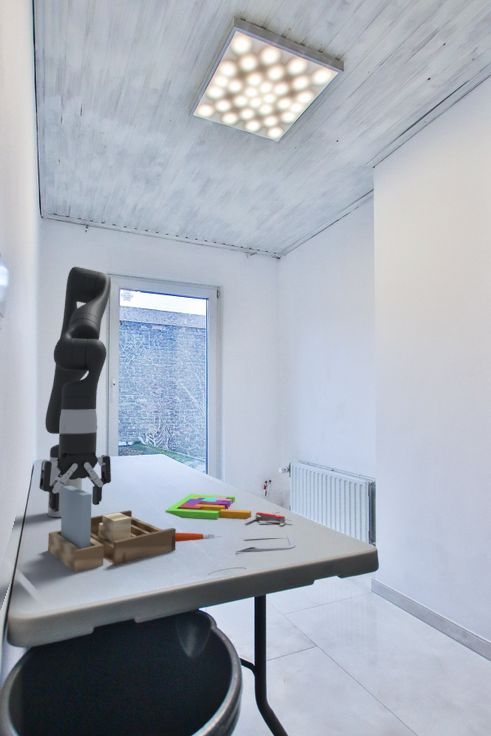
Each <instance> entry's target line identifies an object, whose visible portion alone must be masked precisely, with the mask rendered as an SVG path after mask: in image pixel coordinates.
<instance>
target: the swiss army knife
mask: <svg viewBox="0 0 491 736" xmlns="http://www.w3.org/2000/svg"><path fill="white" fill-rule="evenodd" d="M277 514H280V511H274V512H265V513H264V512H260V511H259V512H256V513H255V515H254V516H251V518H248V519H244V521H245V522H250V521H252V520H255V521H257V522H259V523H271V524H277V525H279V526H284V525H285V524H286V521H288V522H292V521H293V520H292V519H291V518H290V519H289V518H286V516H284V515H277Z"/></svg>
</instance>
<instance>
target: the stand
mask: <svg viewBox="0 0 491 736" xmlns="http://www.w3.org/2000/svg"><path fill="white" fill-rule="evenodd" d="M47 540H48V541H47V542H48V543H47V551H48V553H50V554H52V555H53V556H54V557H55V558H57V559H58V560H59V561H60V562H62V563H63V564H64V565H65V566H67V568H69V569H70V570H72V572H74V573H78V572H82V571H85V570H89V569H93V568H96V567H100V566H104V558H103V556H104V545H103V544H101V543H99V542H98V541H96V540H94V539H92V538H91V537H90V547H86V548H82V549H79V548H78V547H76V546H75V545H73V544H72V543H71V542H69V541H68V540H66V539H65V538H63V537H62V536H61V529H60V530H56V531H55V530H54V531H50V532H48V539H47Z"/></svg>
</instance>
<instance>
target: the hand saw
mask: <svg viewBox="0 0 491 736" xmlns="http://www.w3.org/2000/svg"><path fill="white" fill-rule="evenodd" d="M222 537H223V536H222V535H215V534H214V533H191V532H176V542H185V541H197V540H212V539H215V538H222ZM238 539H239V540H248V539H249V540H251V539H252V540H256V539H259V540H260V539H287V541H288V543H289V545H284V546H283V545H281V546H278V545H277V546H276V545H275V546H251V547H247V548H244V549H240V550H238V551H236V552H237V553H239V552H241V553H242V552H243V553H244V552H245V553H246V552H249V553H251V552H268V551H281V550H283V551H284V550H291V549H293V548H295V547H296V543H295V540H294V538H293V536H292V535H286V536H273V537H271V536H270V537H267V536H265V537H260V536H259V537H238Z"/></svg>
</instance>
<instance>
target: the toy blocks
mask: <svg viewBox="0 0 491 736" xmlns="http://www.w3.org/2000/svg"><path fill="white" fill-rule="evenodd" d="M234 501H235V502H236V496H235V495H218V494H217V495H215V494H196V493H195V494H193V493H191V494H188V495H187V496H186V497H184V498H182V499H181V500H179V501H178V502H176V503H174V504H173V505H171V506H169V507H168V508H167V509H165V513H166V514H170V515H174V516H175V517H179V518H188V519H205V520H206V519H207V520H218V519H219V518H223V519H224V518H228V519H244V520H246V519H248V518H251V517H252V510H246V509H245V510H241V509H229V507H231V506H232V505H233V503H232V502H234ZM235 502H234V503H235ZM231 504H232V505H231ZM230 505H231V506H230ZM226 509H227V510H226Z"/></svg>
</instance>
